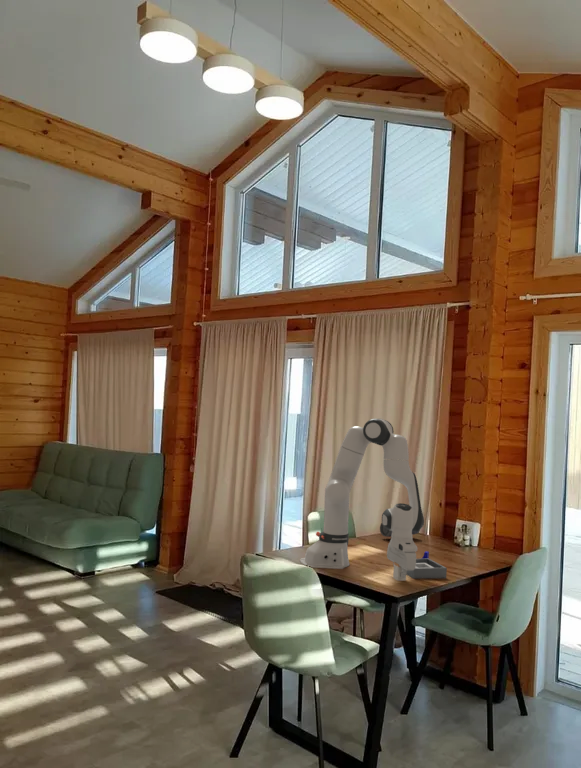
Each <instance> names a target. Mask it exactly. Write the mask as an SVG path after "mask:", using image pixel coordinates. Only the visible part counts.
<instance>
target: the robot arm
mask: <svg viewBox="0 0 581 768" xmlns="http://www.w3.org/2000/svg"><path fill="white" fill-rule="evenodd" d="M394 432H395V431H394V427H393V425H392V423H391V422H390V421H388V420H386V419H383V418H371V419H369V420H368V421H366V422H365V423H364V425H363V427H362V426H360V425H359V426H357V425H353V426H351V427H349V429H348V431H347V432H346V434H345V436H344V439H343V441H342V442H341V445H340V448H339V451H338V454H337V456H336V459H335V462H334V465H333V467H332V470H331V473H330V476H329V479H328V481H327V484H326V486H325V487H324V488H325V489H324V504H323V505H324V508H323V510H324V517H323V531H322V532H320V531H316V533H315V536H316V537H318V540H317V541H316V542H314V543H313V544H311V545H310V546H309V547H307V548H306V550H305V554H304V557H302V558H300V559H299V562H300V563H301V564H302V565H304V566H305V565H308V566H311V567H310V568H313V569H314V568H315V569H316V568H317V569H318V568H320V569H332V570H333V569H334V570H337V569H338V570H343V569H345V568H347V567H349V566H350V560H349V551H348V545H349V539H350V538H349V517H350V516H349V515H350V514H349V513H350V511H349V510H350V493H351V490H352V488H353V484H354V482H355V479H356V477H357V474H358V472H359V469H360V466H361V464H362V461H363V459H364V455H365V453H366V450H367V448H368V445H369V444H370V443H372V444H376V445H378V446H380V447H382V448H383V449H382V450H383V463H382V464H383V470H384V471H383V472H384V473H385V475H386V476H387V477H388V478H390V479H391V480H393V481H395V482H397V483H399V484H402V485H403V486H404V487H405V488H406V491H407V496H408V503H409V504H407V503H395V504H394V506H393V507H391V508H386V509H385V510H384V511H383V513H382V514H381V523H382V525H383V526H384V528H385V529H387V530H390V531H392V535H391V538H390V540H389V543H388V545H387V550H386V551H387V552H386V557H387V559H388V560H389V561H391V562H393V563H392V565H393V566H394V562H396V563H397V564H399V566H400V567H401V569H402V572H401V573H400V577H402V578H405V575H406V572H407V571H413V570H414V569H415V567H416V559H417V552H418V546H417V544H416V543H415V542H414V540H413V535H412V532H418V531H419V530H420V531H421V530H422V528H423V527H424V524H425V516H424V513H423V510H422V505H421V498H420V491H419V484H418V483H419V482H418V480H417V475H416V473H415V472H413V471H412V468H411V467H410V461H409V460H410V459H409V458H410V456H409V455H410V454H409V446H408V445H409V443H408V440H407V438H406V437H405V436H403V435H401V434H395V433H394ZM420 531H419V532H420ZM308 566H307V567H308ZM406 576H407V575H406Z"/></svg>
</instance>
